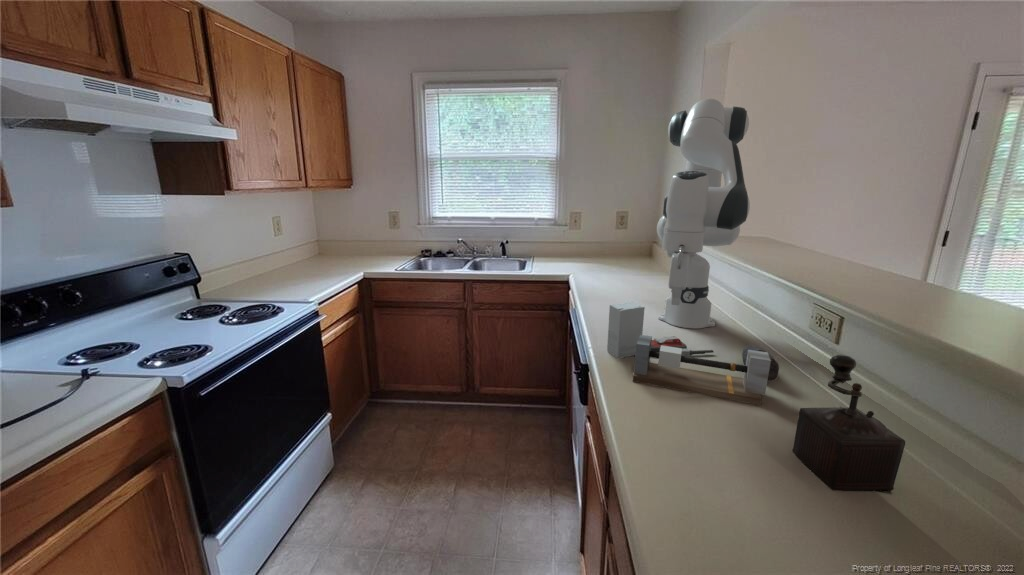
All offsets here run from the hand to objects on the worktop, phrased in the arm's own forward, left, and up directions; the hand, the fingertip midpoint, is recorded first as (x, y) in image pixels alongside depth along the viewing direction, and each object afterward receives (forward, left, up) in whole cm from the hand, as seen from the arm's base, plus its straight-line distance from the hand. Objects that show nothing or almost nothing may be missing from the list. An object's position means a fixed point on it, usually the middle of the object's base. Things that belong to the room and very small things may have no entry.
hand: (676, 299), depth 100 cm
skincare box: (-12, -13, -21) cm, 28 cm away
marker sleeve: (0, 0, -17) cm, 17 cm away
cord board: (0, +6, -21) cm, 22 cm away
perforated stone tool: (-14, +21, -21) cm, 33 cm away
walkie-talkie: (-20, +1, -22) cm, 30 cm away
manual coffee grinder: (+22, +29, -21) cm, 42 cm away
